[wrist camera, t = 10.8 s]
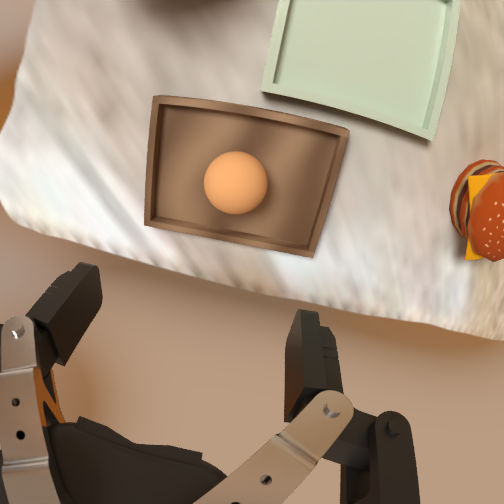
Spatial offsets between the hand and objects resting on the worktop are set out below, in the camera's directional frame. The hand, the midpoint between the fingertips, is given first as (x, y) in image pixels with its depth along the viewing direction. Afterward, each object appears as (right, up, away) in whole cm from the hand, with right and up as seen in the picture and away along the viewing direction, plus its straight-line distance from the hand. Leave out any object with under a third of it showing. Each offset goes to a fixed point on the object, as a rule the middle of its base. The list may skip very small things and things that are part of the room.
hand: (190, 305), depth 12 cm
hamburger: (+27, +8, +14) cm, 31 cm away
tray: (+1, +9, +15) cm, 18 cm away
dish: (+12, +20, +8) cm, 24 cm away
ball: (+1, +9, +14) cm, 17 cm away
